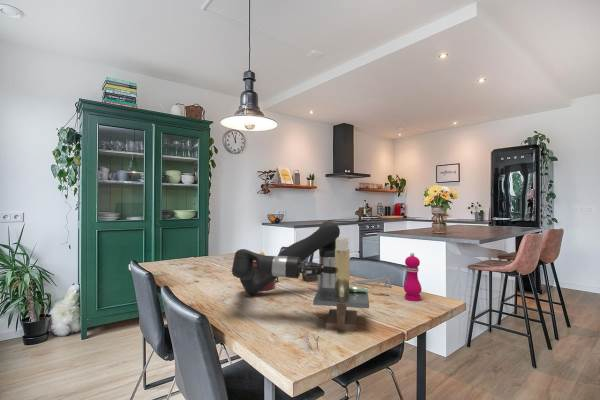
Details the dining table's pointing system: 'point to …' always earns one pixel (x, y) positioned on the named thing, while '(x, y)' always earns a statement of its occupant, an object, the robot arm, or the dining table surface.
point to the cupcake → (309, 277)
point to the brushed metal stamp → (342, 283)
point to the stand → (342, 319)
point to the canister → (269, 286)
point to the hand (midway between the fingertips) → (334, 270)
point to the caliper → (376, 280)
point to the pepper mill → (412, 279)
